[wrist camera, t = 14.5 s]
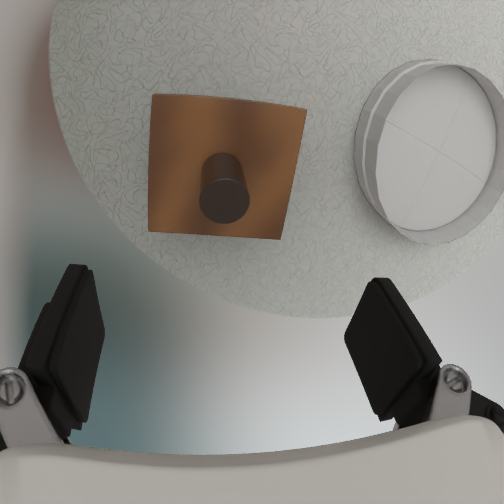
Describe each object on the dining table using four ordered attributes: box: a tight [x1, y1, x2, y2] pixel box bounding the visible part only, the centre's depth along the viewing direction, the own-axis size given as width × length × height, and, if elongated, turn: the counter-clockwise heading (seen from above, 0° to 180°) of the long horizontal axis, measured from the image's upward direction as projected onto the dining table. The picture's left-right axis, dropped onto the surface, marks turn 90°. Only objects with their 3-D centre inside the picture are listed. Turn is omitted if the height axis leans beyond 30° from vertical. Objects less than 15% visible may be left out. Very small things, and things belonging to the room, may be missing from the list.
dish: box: [354, 59, 504, 245], centre depth 31 cm, size 22×22×5 cm
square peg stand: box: [148, 93, 307, 240], centre depth 21 cm, size 11×11×6 cm
